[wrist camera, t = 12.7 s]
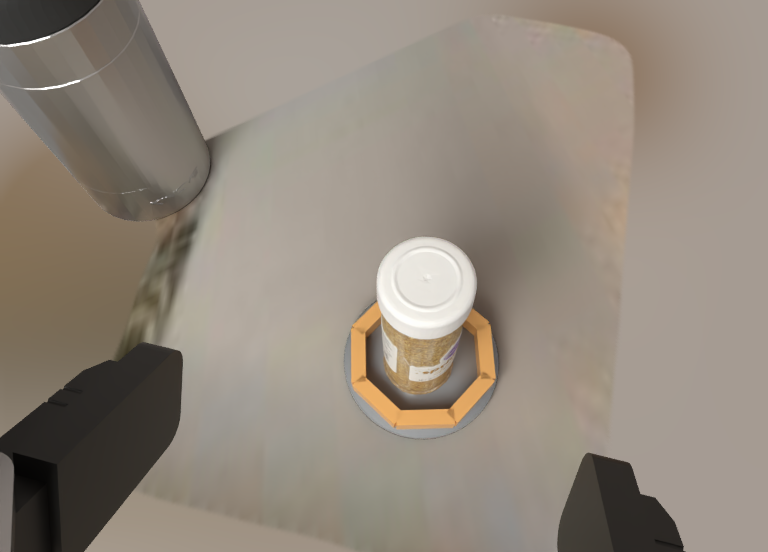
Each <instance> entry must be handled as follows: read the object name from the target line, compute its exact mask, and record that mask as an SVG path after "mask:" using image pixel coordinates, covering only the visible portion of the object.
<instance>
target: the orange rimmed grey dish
mask: <svg viewBox="0 0 768 552" xmlns="http://www.w3.org/2000/svg"><path fill="white" fill-rule="evenodd" d="M383 358H384V351H383V341H382V327H381V311H380V308H379V305H378V300H377V301H375V302H374V303H373V304H371V305H370V306H369V307H368V308H367V309H366V310H365V311H364V312H363V313H362V314H361V315H360V316H359V318H358V319H357V321H356V322H355V323H354V324H353V325H352V328H351V331H350V334H349V337H348V339H347V343H346V347H345V354H344V368H345V375H346V380H347V383H348V386H349V389H350V392H351V394H352V396H353V398H354V400H355V402H356V403H357V405H358V406H359V408H360V409H361V410H362V411H363V413H364V414H365V415H366V416H367V417H368V418H369V419H370V420H372V421H373V422H374V423H375V424H377V425H378V426H380V427H381V428H383V429H384V430H386V431H389V432H391V433H393V434H396V435H399V436H402V437H406V438H412V439H433V438H439V437H443V436H446V435H449V434H452V433H454V432H456V431H458V430H460V429H462V428H464V427H465V426H466V425H468V424H469V423H470V422H472V421H473V420H474V419H475V418H476V417H477V416H478V415H479V414H480V413H481V411H482V410H483V409H484V407H485V406H486V405H487V403H488V401H489V399H490V398H491V396H492V393H493V391H494V388H495V385H496V381H497V377H498V368H499V363H498V352H497V347H496V343H495V340H494V337H493V335H492V333H491V325H490V324H489V321H487V320H486V319H485V318H484V317H483V316H481V315H480V314H479V313H478V312H477V311H476V310H475V309H473V308H472V309H471V312H470V314H469V316H468V317H467V319H466V320H465V322H464V323H463V326H462V334H461V337H460V340H459V344H458V348H457V351H456V355H455V358H454V360H453V368H452V371H451V375H450V376H449V378H448V380H447V381H446V382H445V383H444V384H443V385H442V386H441V387H440V388H438V389H437V390H435V391H433V392H431V393H428V394H421V395H420V394H417V395H415V394H409V393H406V392H403V391H401V390H400V389H399V388H397V387H396V386H395V385H394V384H393V383H392V382H391V380H390V379H389V377H388V376H387V374H386V372H385V368H384V363H383Z"/></svg>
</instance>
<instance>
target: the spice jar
mask: <svg viewBox="0 0 768 552" xmlns="http://www.w3.org/2000/svg"><path fill="white" fill-rule="evenodd" d="M376 288H377V300H378V305H379V308H380V311H381V327H382V341H383V351H384V358H383V363H384V368H385V372H386V374H387V376H388V377H389V379H390V380H391V382H392V383H393V384H394V385H395V386H396V387H397V388H399V389H400V390H401V391H403V392H406V393H409V394H415V395H417V394H420V395H421V394H428V393H431V392H433V391H435V390H437V389H438V388H440V387H441V386H442V385H443V384H444V383H445V382H446V381H447V380H448V378H449V376H450V375H451V371H452V368H453V360H454V358H455V355H456V351H457V348H458V344H459V340H460V337H461V334H462V326H463V323H464V322H465V320H466V319H467V317H468V316H469V314H470V312H471V309H472V306H473V303H474V299H475V295H476V291H477V277H476V272H475V269H474V266H473V264H472V262H471V260H470V259H469V258H468V256H467V255H466V254H465V253H464V252H463V251H462V250H461V249H460V248H459V247H458V246H456V245H455V244H453V243H451V242H450V241H447V240H444V239H442V238H437V237H431V236H420V237H414V238H411V239H408V240H405V241H403V242H401V243H399V244H398V245H396V246H395V247H394V248H392V249H391V250H390V251H389V252H388V253H387V255H386V256H385V257H384V259H383V260H382V262H381V264H380V267H379V270H378V274H377V286H376Z"/></svg>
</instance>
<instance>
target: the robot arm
mask: <svg viewBox="0 0 768 552" xmlns="http://www.w3.org/2000/svg"><path fill="white" fill-rule="evenodd" d="M0 93H1V94H2V95H3V97H4V98H5V99H6V100H7V101H8V102H9V103H10V105H11V106H12V107H13V108H14V109H15V110H16V111H17V113H18V114H19V115H20V116H21V117H22V118H23V119H24V121H26V123H27V124H28V125H29V126H30V127H31V129H32V130H33V131H34V132H35V133H36V134H37V135H38V137H39V138H40V139H41V140H42V141H43V142H44V143H45V145H46V146H48V148H49V149H50V150H51V151H52V153H53V154H54V155H55V156H56V157H57V158H58V159H59V160H60V161H61V163H62V164H63V165H64V166H65V167H66V168H67V170H68V171H69V172H70V173H71V174H72V176H73V177H74V178H75V179H76V180H77V181H78V183H79V184H80V185H81V186H82V187H83V188H84V189H85V191H86V192H87V193H88V194H89V195H90V196H91V197H92V198H93V200H94V201H95V202H96V203H97V204H98V205H99V206H100V207H101V208H102V209H103V210H104V211H106V212H108V213H109V214H111V215H113V216H115V217H118V218H121V219H124V220H131V221H151V220H155V219H159V218H163V217H166V216H168V215H170V214H172V213H175V212H177V211H178V210H180V209H181V208H183V207H184V206H186V205H187V204H188V203H189V202H191V201H192V200H193V199H194V198H195V197H196V196H197V194H198V193H199V192H200V190H201V189H202V187H203V186H204V184H205V182H206V179H207V177H208V174H209V168H210V154H209V150H208V148H207V145H206V142H205V140H204V138H203V136H202V134H201V132H200V130H199V127H198V125H197V124H196V121H195V119H194V117H193V115H192V112H191V110H190V108H189V106H188V104H187V101H186V99H185V97H184V95H183V93H182V91H181V89H180V86H179V85H178V82H177V80H176V78H175V76H174V74H173V72H172V69H171V67H170V65H169V63H168V61H167V59H166V57H165V55H164V53H163V51H162V49H161V46H160V44H159V42H158V40H157V38H156V36H155V33H154V31H153V29H152V27H151V25H150V23H149V21H148V19H147V16H146V14H145V13H144V10H143V8H142V6H141V4H140V2H139V0H0ZM182 369H183V358H182V354H181V352H180V351H178V350H174V349H170V348H166V347H162V346H157V345H153V344H149V343H145V342H142V343H140V344H138V345H137V346H136V347H135V348H133V349H132V350H131V351H130V352H129V353H128V354H126V355H125V356H124V357H123V358H122V359H121V360H119V361H118V362H116V361H112V360H108V361H106V362H103V363H101V364H99V365H96V366H93V367H91V368H89V369H86V370H84V371H82V372H81V373H80V374H79V375H77V376H76V377H75V378H74V379H72V380H71V381H70V382H69V383H67V384H66V385H65V386H64V389H63V390H62V389H60V390H59V391H58V392H56V393H55V394H54V395H53V396H52V397H50V398H49V399H48V402H47V403H46V402H44V403H43V404H41V405H40V406H39V407H38V408H36V409H35V410H34V411H33V412H31V413H30V414H29V415H28V416H26V417H25V418H24V419H23V420H22V421H20V422H19V423H18V424H17V425H15V426H14V427H13V428H12V429H10V430H9V431H8V432H7V433H5V434H4V435H3V436H2V437H1V438H0V552H84V551H85V550H86V548H87V547H88V546H89V545H90V544H91V542H92V541H93V540H94V539H95V537H96V536H97V535H98V534H99V532H100V531H101V530H102V529H103V527H104V526H105V525H106V524H107V522H108V521H109V520H110V519H111V517H112V516H113V515H114V514H115V512H116V511H117V510H118V509H119V508H120V506H121V505H122V504H123V503H124V501H125V500H126V499H127V497H128V496H129V495H130V494H131V493H132V491H133V490H134V489H135V488H136V486H137V485H138V484H139V483H140V481H141V480H142V479H143V478H144V476H145V475H146V474H147V473H148V471H149V470H150V469H151V468H152V466H153V465H154V464H155V463H156V461H157V460H158V459H159V458H160V456H161V455H162V454H163V453H164V451H165V450H166V449H167V448H168V446H169V445H170V443H171V442H172V440H173V438H174V436H175V434H176V431H177V428H178V425H179V421H180V413H181V391H182ZM557 546H558V552H685V551H683V547H684V546H683V544H682V541H681V538H680V535H679V532H678V530H677V527H676V524H675V522H674V521H673V519H672V518H671V517H670V516H669V514H668V513H667V512H666V511H665V509H664V508H663V507H662V506H661V504H660V503H659V502H658V501H657V500H656V498H654V497H650V496H645V495H642V494H640V492H639V488H638V485H637V482H636V479H635V476H634V472H633V469H632V467H631V465H630V463H628V462H624V461H620V460H616V459H612V458H608V457H604V456H600V455H596V454H592V453H587V454H586V455H585V456H584V458H583V459H582V462H581V464H580V467H579V470H578V472H577V475H576V478H575V480H574V483H573V486H572V488H571V491H570V494H569V497H568V499H567V502H566V505H565V507H564V510H563V513H562V516H561V519H560V524H559V530H558V542H557Z"/></svg>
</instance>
